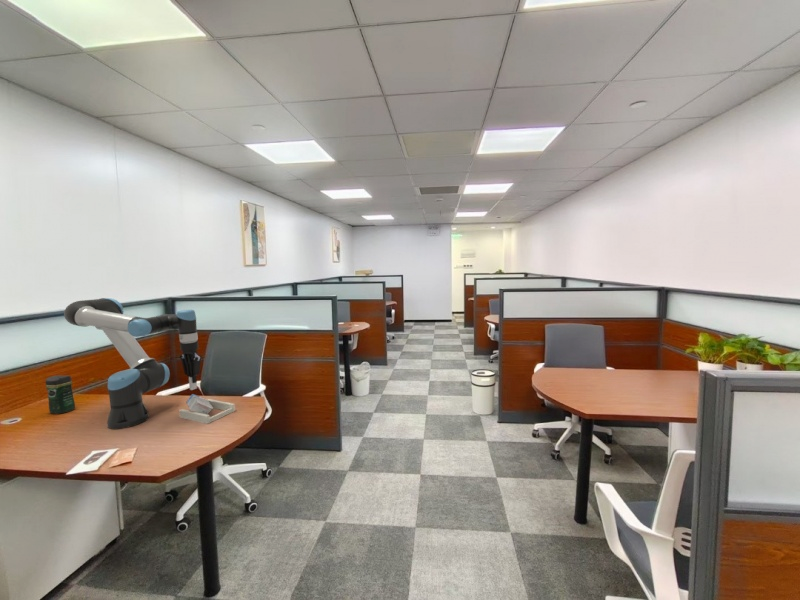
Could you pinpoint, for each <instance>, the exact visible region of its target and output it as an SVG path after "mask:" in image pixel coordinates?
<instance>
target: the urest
mask: <svg viewBox="0 0 800 600" xmlns="http://www.w3.org/2000/svg"><path fill="white" fill-rule="evenodd" d="M206 400H208V401H209V403H210V404H211V406H212V408H213V409H217V410H221V412H219V413H216V414H214V415H212V416H210V414H208V415H206V414H202V413H197V412H194V411H192V410H188V409H184V408H182V409H179V411H178V413H179V418H180V419H185V420H188V421H193V422H197V423H202V424H205V425H207V424H210V423H212V422H214V421H216V420H219V419H221V418H223V417H226V416H227V415H229V414H232V413H233V412H235V411H236V405H235V403H232V402H226V401H221V400H216V399H211V398H207V399H206Z"/></svg>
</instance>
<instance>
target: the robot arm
mask: <svg viewBox="0 0 800 600" xmlns="http://www.w3.org/2000/svg"><path fill="white" fill-rule="evenodd" d="M63 317H64V319H65V321H66V322H67V323H69V324H71V325H73V326H78V327H82V328H83V327H95V328H96V330H100V331H103V333H104V334H105V335H106V337H107V338H108V340H109V341H110V342H111V344H112V345H113V346H114V348H115V349H116V350H117V352H118V353H119V355H120V356H121V357H122V358H123V360H124V361H125V363H126V364H127V365H128V366H129V369H125V370H120V371H118V372H115V373H113V374H111V375H110V376H109V377H108V378H107V390H108V397H109V406H110V411H109V413H108V417H107V421H106V424H107V428H108V429H111V430H119V429H125V428H129V427H134V426H136V425H139V424H141V423H144V422H145V421H147V420H148V419H149V418H150V415H149V410H148V409H147V408H146V406H145V403H144V401H143V394H146V393H148V392H150V391H153V390H156V389H159V388H161V387H162V386H164V385H165V384H167V383H168V382H169V379H170V374H171V373H170V369H169V367H168V365H167V364H165V363H164V362H158V361H157V360H156V358H154V357H150V356H149V355H148V354H147V352H146V351H145V350H144V349H143V347H142V346H141V344H139V342H138V340H137V339H136V338H138V337H146V336H149V335H152V334H157V333H162V332H166V331H178V338H179V342H180V343H179V346H180V347H179V349H180V351H181V352H182V354H181V355H179V360H180V361H181V363H182V369H183V372H184V375H186V376H187V377H188V383H189V384H188V385H189V391H193V390H196V389H198V384H197V376H199V375H200V371H201V360H202V356H200V355H198V351H197V350H198V349H199V347H200V346H199V341H198V339H199V337H198V329H197V316H196V311H195V310H194V309H179V310H177V312H176V313H175V314H171V313H170V314H169V313H168V314H167V313H163V314H157V315H156V316H151V317H142V316H141V317H140V316H135V315H130V314H129V315H128V314H124V307H123V305H122V304H121V302H120V301H118V300H117V299H114V298H109V297H108V298H107V297H101V298H94V299H86V300H83V299H82V300H76V301H73V302H71V303H70V304H68V305H67V306H66V307H65V309H64V311H63Z"/></svg>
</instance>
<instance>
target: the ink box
mask: <svg viewBox="0 0 800 600" xmlns="http://www.w3.org/2000/svg"><path fill="white" fill-rule="evenodd" d="M186 404H187V406H188V408H189V411H193V412H197V413H202V414H206V415H209V413H210V412H211V411H212V410H214V408H212V406H211V404H210V403H209V401H208V400H207V399H206V398H203V397H201V396H199V395H197V394H194V393H191V395H190V396H189V398H188V400H187V401H186Z"/></svg>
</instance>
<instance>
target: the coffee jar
mask: <svg viewBox="0 0 800 600" xmlns="http://www.w3.org/2000/svg"><path fill="white" fill-rule="evenodd" d="M72 385H73V380H72V377H71V375H52V376H49V377H47V378H46V380H45V387H46V390H47V398H48V410H49V413H50V414H56V415H57V414H58V415H59V414H64V413H69V412H71V411H73V410H75V409H76V404H75V403H76V402H75V399H74V395H73V394H74V393H73V388H72V387H73V386H72Z"/></svg>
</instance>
